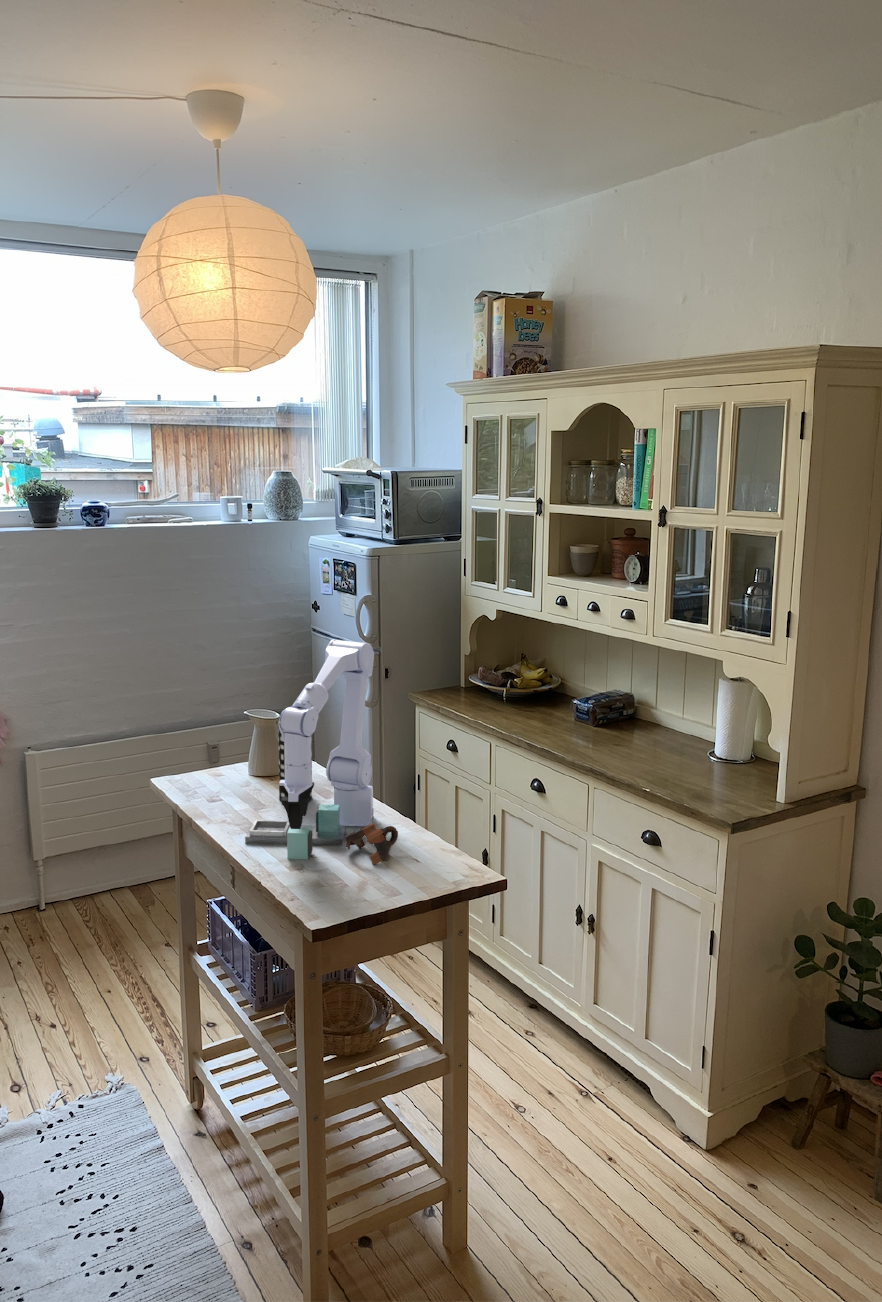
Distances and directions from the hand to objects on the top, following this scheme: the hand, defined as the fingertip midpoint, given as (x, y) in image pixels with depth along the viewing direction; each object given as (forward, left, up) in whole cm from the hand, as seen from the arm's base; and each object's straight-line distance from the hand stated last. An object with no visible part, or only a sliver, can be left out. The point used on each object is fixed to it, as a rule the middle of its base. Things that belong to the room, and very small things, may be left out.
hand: (298, 821), depth 212 cm
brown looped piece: (-16, -1, -8) cm, 18 cm away
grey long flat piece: (+2, -10, -8) cm, 13 cm away
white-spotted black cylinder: (+6, -35, -8) cm, 36 cm away
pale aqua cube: (0, 0, -8) cm, 8 cm away
